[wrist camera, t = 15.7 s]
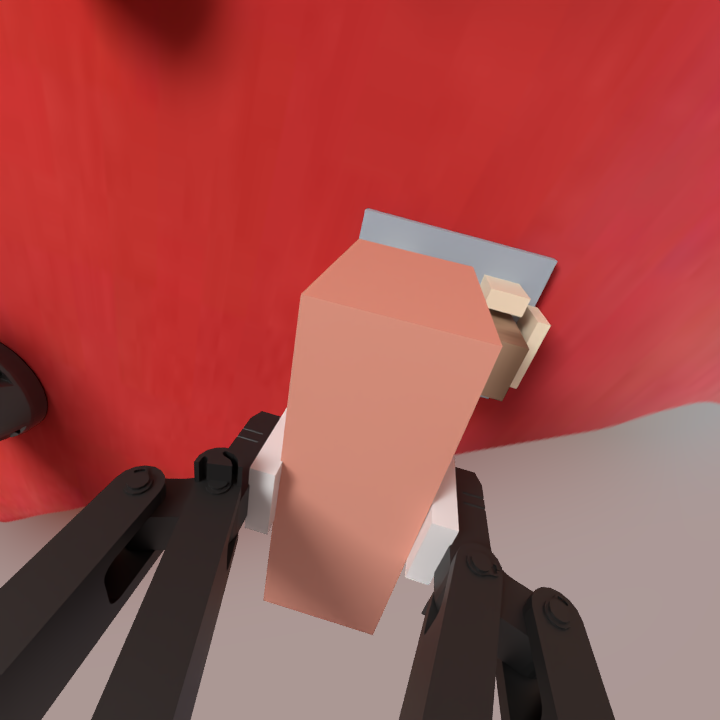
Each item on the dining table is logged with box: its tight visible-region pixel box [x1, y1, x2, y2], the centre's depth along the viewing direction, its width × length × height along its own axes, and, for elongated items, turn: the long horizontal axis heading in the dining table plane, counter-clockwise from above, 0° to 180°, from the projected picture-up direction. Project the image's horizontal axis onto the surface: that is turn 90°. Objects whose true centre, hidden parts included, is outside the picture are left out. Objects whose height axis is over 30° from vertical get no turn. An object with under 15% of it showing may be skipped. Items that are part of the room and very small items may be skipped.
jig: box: [359, 208, 557, 399], centre depth 32 cm, size 16×14×5 cm
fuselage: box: [481, 308, 529, 401], centre depth 29 cm, size 12×4×8 cm, turn 77°
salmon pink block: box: [264, 239, 503, 635], centre depth 14 cm, size 4×13×7 cm, turn 168°
